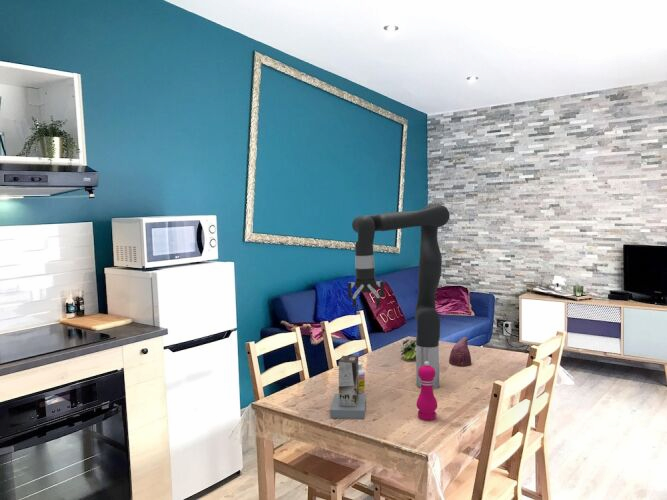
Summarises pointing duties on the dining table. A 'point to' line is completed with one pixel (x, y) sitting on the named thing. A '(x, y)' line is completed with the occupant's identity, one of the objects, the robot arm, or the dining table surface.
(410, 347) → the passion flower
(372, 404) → the dining table surface
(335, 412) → the block
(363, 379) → the supplement bottle
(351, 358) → the coffee box
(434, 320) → the robot arm
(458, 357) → the vegetable
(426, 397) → the pepper mill
